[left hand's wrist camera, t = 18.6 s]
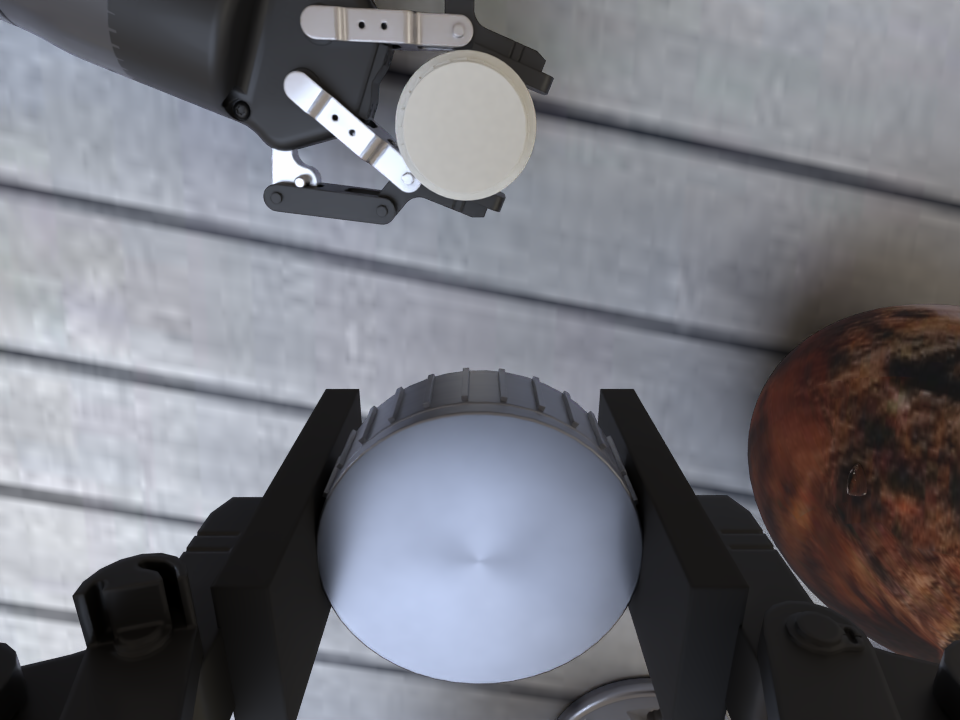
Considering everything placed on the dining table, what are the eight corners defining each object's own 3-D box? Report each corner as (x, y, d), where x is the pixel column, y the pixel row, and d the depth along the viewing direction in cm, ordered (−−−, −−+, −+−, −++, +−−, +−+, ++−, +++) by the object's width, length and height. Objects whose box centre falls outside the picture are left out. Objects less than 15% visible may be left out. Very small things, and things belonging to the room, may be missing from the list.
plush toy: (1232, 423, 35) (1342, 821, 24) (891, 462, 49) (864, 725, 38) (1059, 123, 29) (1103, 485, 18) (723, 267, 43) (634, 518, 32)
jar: (497, 59, 33) (511, 19, 18) (526, 147, 35) (560, 176, 20) (414, 92, 34) (363, 81, 19) (446, 178, 35) (423, 228, 21)
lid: (495, 658, 14) (497, 733, 12) (277, 515, 12) (245, 577, 11) (685, 485, 12) (719, 544, 10) (459, 302, 11) (456, 336, 9)
